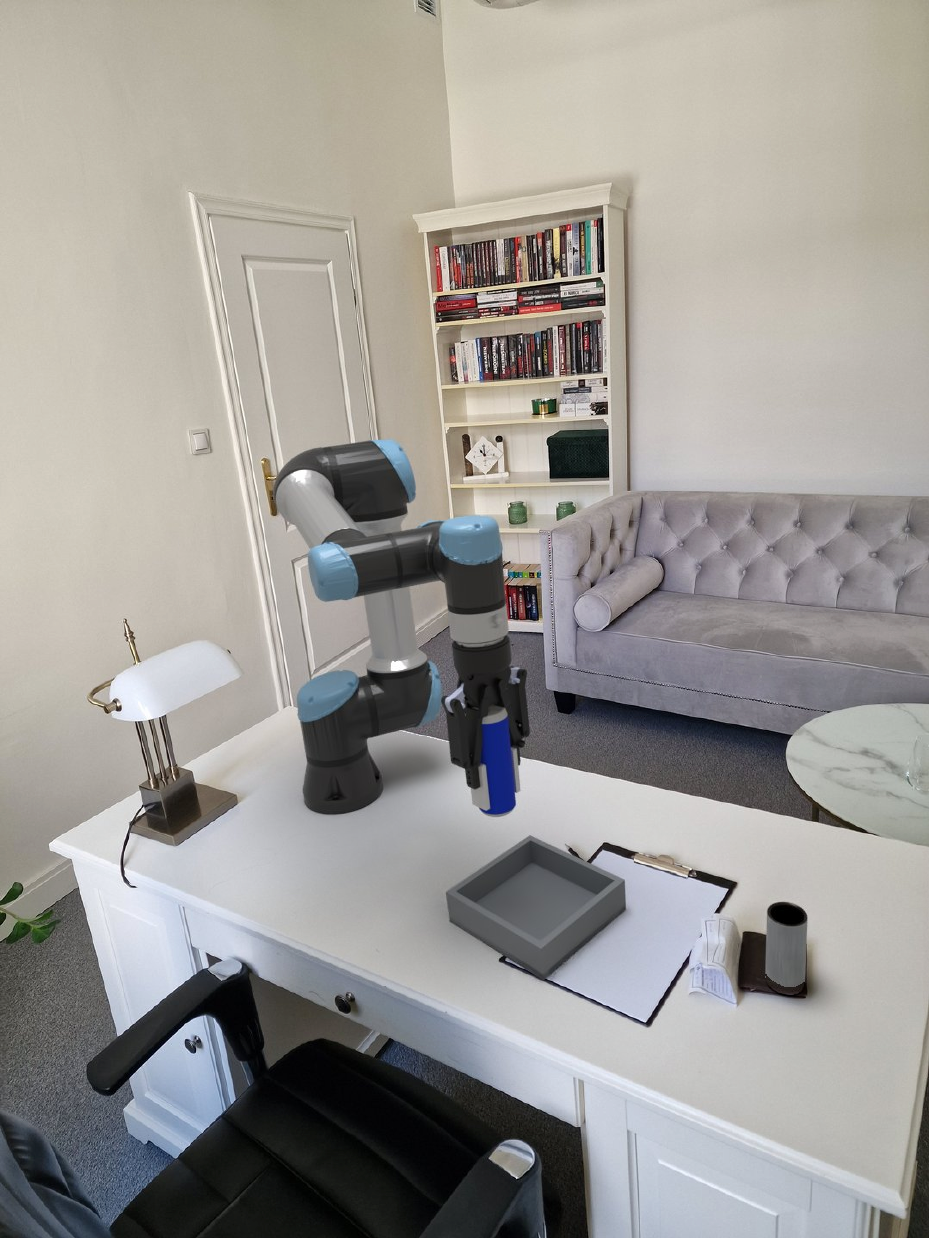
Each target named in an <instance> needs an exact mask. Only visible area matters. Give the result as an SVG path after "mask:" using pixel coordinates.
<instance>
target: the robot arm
mask: <svg viewBox="0 0 929 1238" xmlns="http://www.w3.org/2000/svg"><path fill="white" fill-rule="evenodd" d="M272 491H273V492H272V495H273V502H274V505H275V507H276V510H277V511H278V513H279V515H281V517H282V518H283V519H284V520H285V521H286V522H287V523H289V524H290V525H293V526H294V527H296V530H297V531H298V532H299V534H300V535H301V537H302V539H303V540H304V542H305V544H306V545H307V546H308V548H309V550H308V553H307V565H308V573H309V579H310V583H311V586H312V587H313V592H314V595H315V596H316V597H317V598H318V600H320V601H322V602H325V603H328V602H334V601H341V600H342V601H349V600H352V599H353V598H360V597H363V600H364V607H365V608H364V609H365V614H366V620H367V627H368V634H369V640H370V647H371V653H372V654H371V657H370V658H369V659H368V660H367V662H366V664H365V669H366V675H363V676H358V675H357V674H356V673H355V672H354V671H352V670H347V669H343V670H333V671H328V672H326V673H323V674H320V675H317V676H315V677H313V678H312V679H310V680H309V681H306V683H305V684H304V685H302V686H301V687H300V689H299V690H298V692H297V695H296V706H297V718H298V720H299V723H300V728H301V735H302V740H303V747H304V753H305V758H306V766H305V774H304V778H303V779H304V780H303V786H302V797H303V802H304V804H305V805H306V807H307V808H309V809H310V810H312V811H314V812H317V813H321V814H332V815H333V814H342V813H343V814H344V813H349V812H353V811H356V810H359V809H362V808H364V807H366V806H368V805H370V804H372V803H373V802H374V801H376V799H378V798H379V797H380V796H381V794H382V793H383V789H384V783H383V777H382V774H381V772H380V770H379V768H378V766H377V764H376V763H375V761H374V759H373V756H372V754H371V752H370V751H369V745H368V739H371V738H374V737H380V736H383V735H386V734H392V733H395V732H399V731H400V732H401V731H403V730H407V729H412V728H415V729H416V728H419V727H420V726H421V725H425V724H428V723H432V722H434V721H435V720H436V718H438V715H439V714H440V712H441V708H442V707H443V710H444V711H445V716H446V724H447V725H446V726H447V735H448V736H447V737H448V745H449V756H450V757H449V758H450V763H451V764H452V765H454V766H457V767H460V768H461V769H464V772H465V779H466V780H465V781H466V785H467V788H468V787H469V788H470V794H471V795H470V796H471V802H472V805H473V806H475V807H477V808H481V809H483V810H486V811H487V810H488V809H490V802H489V793H488V783H487V774H486V765H484V764H482V763H481V752H482V742H483V730H482V720H483V718H484V717H486V716H488V709H489V706H491V705H492V704H493V705H496V706H499V707H503V708H505V709H506V711H507V714H508V725H509V735H510V746H511V756H512V767H513V777H514V788H515V794H518V793H519V792H521V791H522V790H521V781H520V772H519V771H520V770H519V766H520V765H521V749H523V748H524V747H525V745H526V741H525V740H523V739H524V738H529V736H530V733H531V731H530V720H529V710H528V700H527V690H526V683H527V682H526V681H527V675H528V671H527V670H526V669H524V668H520V667H517V666H513V665H511V663H512V648H511V639H510V636H508V635H507V634H508V633H509V631H510V630H509V619H508V608H507V607H508V606H507V599H506V596H507V595H506V587H505V573H504V562H503V561H504V559H503V558H504V557H503V550H504V549H503V548H504V547H503V542H502V540H501V534H500V528H499V523H498V521H497V520H496V519H495V518H494V517H492V516H489V515H478V514H474V515H464V516H457V517H453V518H449V519H447V520H440V519H439V520H438V519H437V520H435V519H434V520H433V519H432V520H427V521H425V522H422V523H421V524H420V525H418V526H417V527H416V528H411V529H405V530H403V529H402V523H403V522H404V521H405V519H406V517H407V516H408V515H409V512H408V504H411V503H412V502H414V501H415V499H416V497H417V496H416V495H417V493H416V491H417V486H416V480H415V475H414V471H413V468H412V466H411V461H410V459H409V458H408V456H407V454H406V452H405V450H404V448H403V447H402V446H401V444H399V443H398V442H397V441H395V440H393V439H390V438H389V439H369V440H365V441H364V440H363V441H358V442H357V441H356V442H351V443H345V444H339V445H332V446H331V445H330V446H324V447H322V446H320V447H313V448H310V449H307V450H305V451H303V452H300V453H299V454H296V455H295V456H294V457H293V458H290V460H289V461H287V462H286V463H285V465H284V466H282V468H281V470H279V472H278V474H277V476H276V478H275V479H274V484H273V490H272ZM433 582H442V583H444V587H445V595H446V605H447V614H448V624H449V625H448V626H449V633H450V634H449V636H450V638H451V639H452V640H453V641H452V643H451V649H452V658H453V666H454V669H455V671H456V672H457V676H458V679H457V683H456V690H455V691H454V692H453V693H451V694H450V695H445V694H444V695H443V689H442V681H441V679H440V672H439V669H438V668H437V666H436V664H435V663H434V662H432V661H431V660H428V656H427V654H426V653H425V652H423V651H422V650H421V649H419V647H418V641H417V633H416V626H415V620H414V611H413V603H412V595H411V588H410V587H414V586H420V585H425V584H430V583H433ZM475 707H476V708H475ZM478 708H479V709H478Z"/></svg>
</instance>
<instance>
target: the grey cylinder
mask: <svg viewBox="0 0 929 1238" xmlns="http://www.w3.org/2000/svg"><path fill="white" fill-rule="evenodd" d="M808 922H809V921H808V913H807V912H806V911H805V910H804V908H803V907H801V906H800V905H798V904H796V903H793V902H789V901H778V902H774V903H772V904H770V905H769V906H768V907H767V910H766V931H765V932H766V940H765V974H767V976H768V977H769V978H770V979H771V980H772V981H774V982H776V983H777V984H780V985H781V986H784V987H796V986H798V985H800V984H802V983H803V982H805V983H806V968H807V967H806V965H807V945H808V944H807V943H808V942H807V940H808Z"/></svg>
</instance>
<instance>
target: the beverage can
mask: <svg viewBox="0 0 929 1238" xmlns="http://www.w3.org/2000/svg"><path fill="white" fill-rule="evenodd" d="M475 708H476V707H475ZM478 709H479V708H478ZM482 730H483V742H482V752H481V763H482V764H484V765H486V774H487V783H488V793H489V802H490V809H488V810H487V811H486V810H483V809H481V808H479V807H478V808H479V811H481V813H482V814H483V815H485V816H487V817H492V818H501V817H505V816H507V815H509V814H510V813H512V812H513V810H514V809H515V808H516V805H517V800H516V799H517V798H516V792H515V788H514V777H513V767H512V756H511V746H510V735H509V725H508V714H507V711H506V709H505V708H503V707H499V706H496V705H493V704H492V705H491V706H489V709H488V716H486V717H484V718H483V720H482Z"/></svg>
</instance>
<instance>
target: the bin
mask: <svg viewBox="0 0 929 1238" xmlns="http://www.w3.org/2000/svg"><path fill="white" fill-rule="evenodd" d="M445 895H446V904H447V911H448V913H447V914H448V921H449V923H452V924H453V925H455V926H457V927H458V928H459V929H461V930H463V931H464V932H466V933H467V934H469V935H471V936H472V937H474V938H476V939H477V940H479V941H480V942H482V943H483V944H485V945H486V946H488V947H490V948H492V949H493V950H495V951H496V952H498V953H499V954H501V955H502V956H504V957H506V958H507V959H508V960H510V961H512V962H513V963H515V964H517V965H518V966H520V967H521V968H523V969H524V970H526V971H528V972H529V973H531V974H532V975H534V976H536V977H537V978H539V979H540V980H542V981H545V980H546V979H548V977H549V976H550V975H552V974H553V973H554V972H555V971H556V970H558V969H559V968H560V967H561V966H562V965H564V964H565V963H566V962H567V961H568V960H569V959H570V958H572V957H573V955H575V954H576V953H577V952H579V951H580V950H581V949H582V948H583V947H585V946H586V945H587V944H588V943H589V942H590V941H592V939H593V938H594V937H596V936H597V935H598V934H599V933H600V932H602V931H603V930H604V929H605V928H606V927H607V926H609V925H610V924H611V923H612V922H613V921H614V920H615V919H617V918H618V917H619V916H620V915H621V914H623V912H625V911H626V910H627V905H626V904H627V902H626V900H627V899H626V897H627V896H626V880H625V879H624V878H622V877H619V876H617V875H615V874H614V873H611V872H610V871H607V870H605V869H603V868H601V867H599V866H597V865H594V864H592V863H590V862H588V861H586V860H583V859H582V858H579V857H578V856H575V855H574V854H571V853H569V852H567V851H564V850H562V849H560V848H558V847H556V846H554V845H552V844H549V843H547V842H546V841H544V840H541V839H539V838H537V837H534V836H532V835H528V836H526V837H525V838H523V839H522V840H521V841H519V842H518V843H516V844H515V845H513V846H512V847H510V848H508V849H507V850H505V852H503V853H501V854H500V855H498V856H497V857H496V858H494V859H492V860H491V861H490V862H488V863H486V864H485V865H484V866H482V867H480V868H479V869H478V870H477V871H474V872H473V873H472V874H470V875H469V876H467V877H466V878H464V879H462V880H461V881H460V882H459V883H457V884H455V885H454V886H452V888H450V889H448V890H447V891H445Z"/></svg>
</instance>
